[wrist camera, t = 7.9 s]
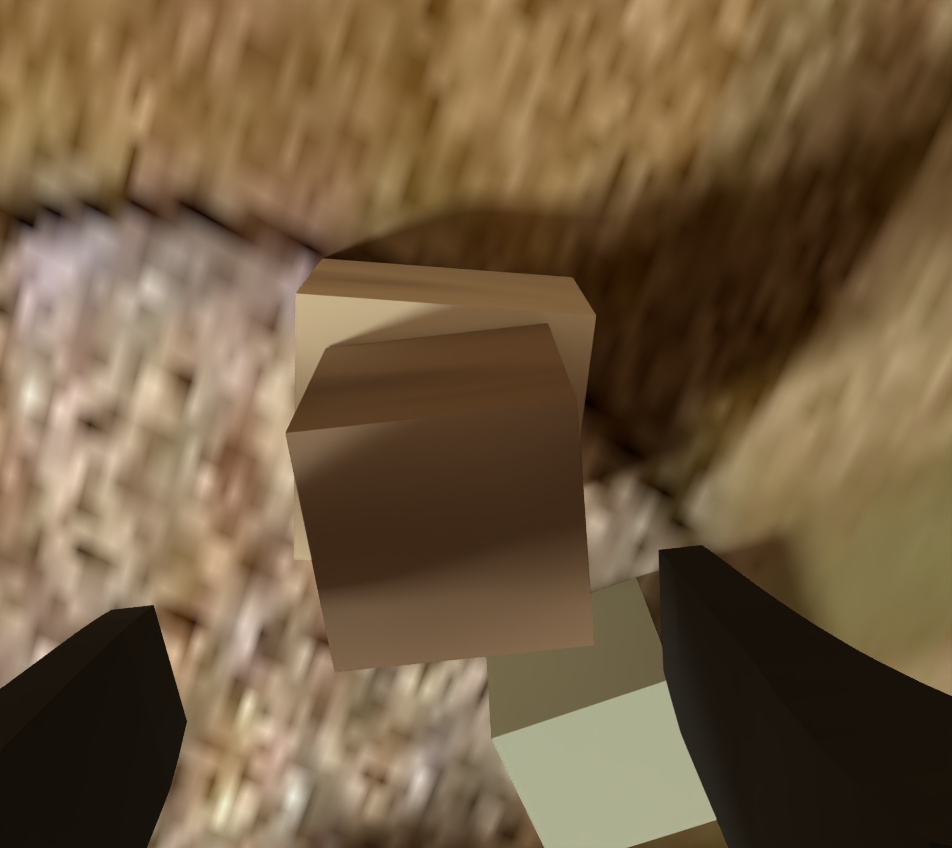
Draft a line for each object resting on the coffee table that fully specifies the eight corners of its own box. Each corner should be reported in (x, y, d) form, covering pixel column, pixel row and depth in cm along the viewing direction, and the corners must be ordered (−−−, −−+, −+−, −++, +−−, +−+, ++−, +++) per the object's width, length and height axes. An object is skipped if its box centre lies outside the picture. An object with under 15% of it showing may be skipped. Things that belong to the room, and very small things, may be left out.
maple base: (544, 497, 23) (562, 575, 20) (320, 482, 23) (294, 559, 19) (571, 275, 21) (595, 315, 17) (324, 256, 21) (295, 293, 17)
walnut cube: (563, 520, 19) (594, 645, 15) (360, 542, 19) (334, 672, 15) (547, 323, 17) (576, 401, 13) (325, 347, 18) (285, 433, 13)
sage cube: (681, 698, 26) (726, 817, 22) (539, 745, 26) (555, 870, 22) (635, 575, 24) (674, 678, 20) (484, 627, 25) (491, 738, 20)
